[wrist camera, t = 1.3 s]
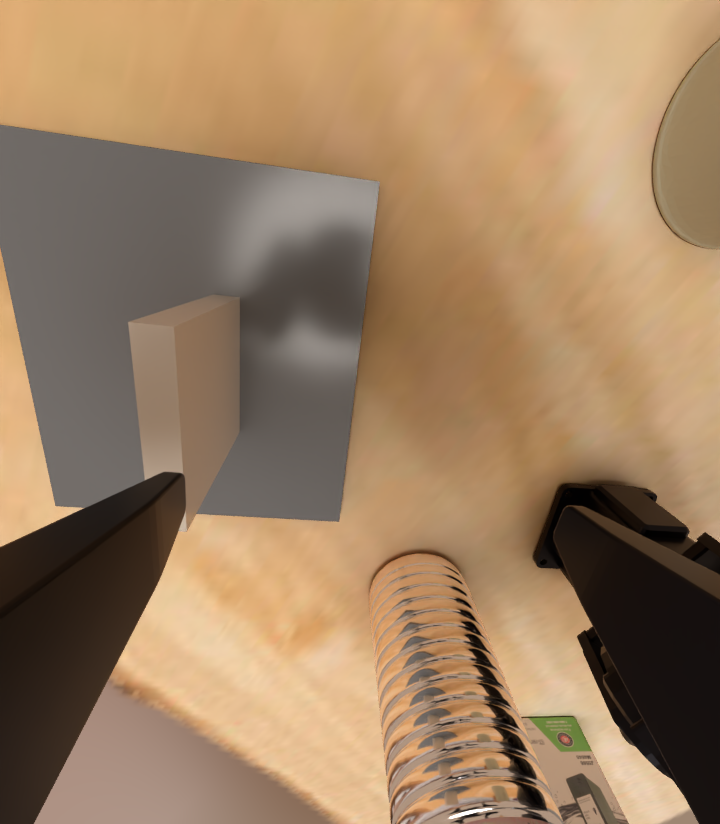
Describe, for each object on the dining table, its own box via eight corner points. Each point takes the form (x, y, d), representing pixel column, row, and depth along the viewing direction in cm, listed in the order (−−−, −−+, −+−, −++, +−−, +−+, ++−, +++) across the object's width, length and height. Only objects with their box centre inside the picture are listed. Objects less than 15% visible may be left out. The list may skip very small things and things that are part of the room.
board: (339, 511, 24) (339, 521, 23) (67, 495, 22) (55, 506, 21) (377, 185, 17) (379, 181, 16) (-6, 128, 16) (-27, 120, 15)
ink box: (575, 714, 34) (689, 929, 23) (560, 747, 36) (659, 961, 25) (482, 716, 33) (555, 940, 22) (472, 750, 35) (534, 971, 24)
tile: (239, 432, 20) (186, 531, 13) (212, 430, 20) (143, 529, 13) (239, 297, 18) (174, 326, 11) (208, 293, 18) (120, 320, 10)
